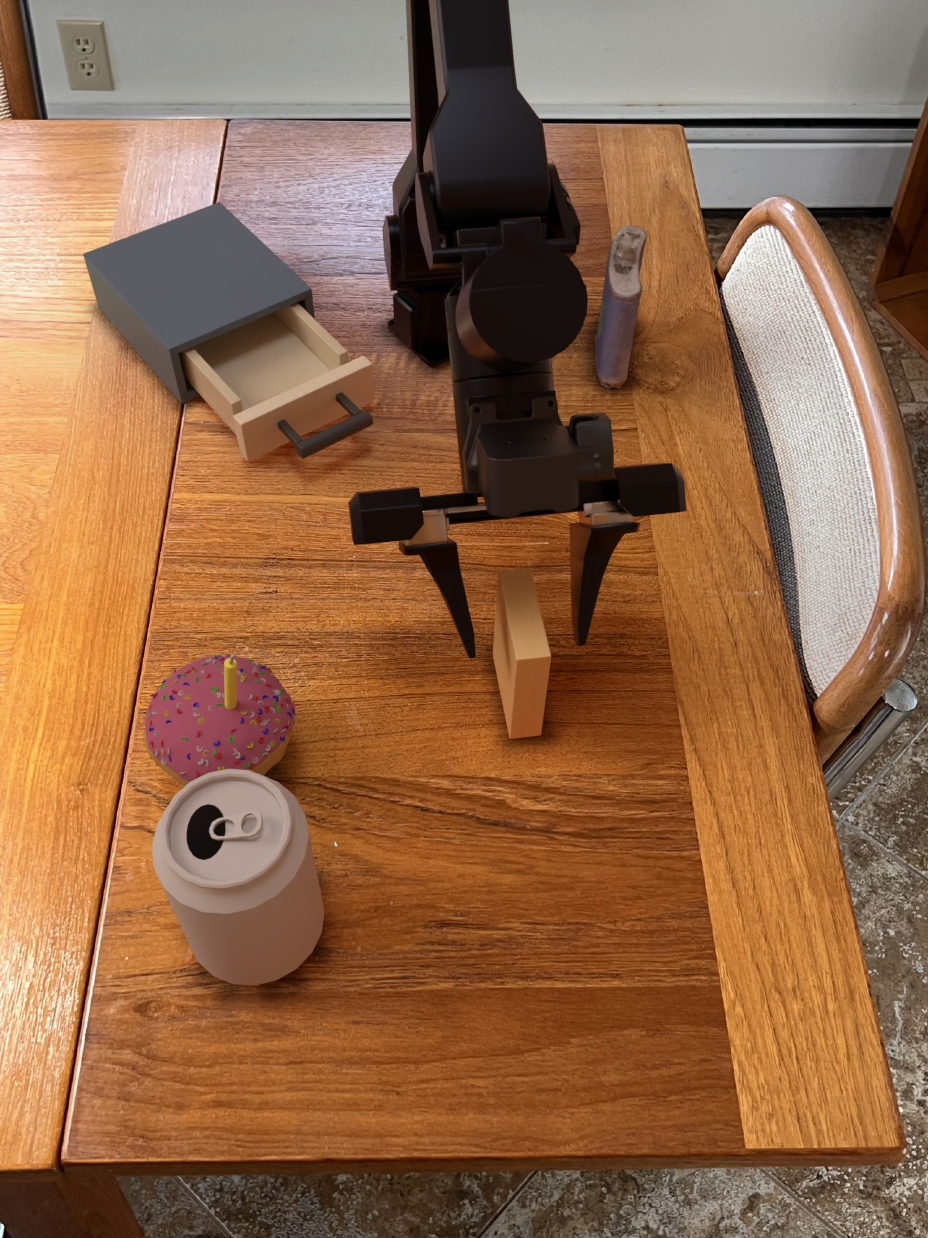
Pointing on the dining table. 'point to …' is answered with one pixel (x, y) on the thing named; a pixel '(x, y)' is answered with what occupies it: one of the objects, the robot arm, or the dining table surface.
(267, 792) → the can
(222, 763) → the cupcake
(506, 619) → the block
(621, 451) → the dining table surface
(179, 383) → the cabinet
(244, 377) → the drawer
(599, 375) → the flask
